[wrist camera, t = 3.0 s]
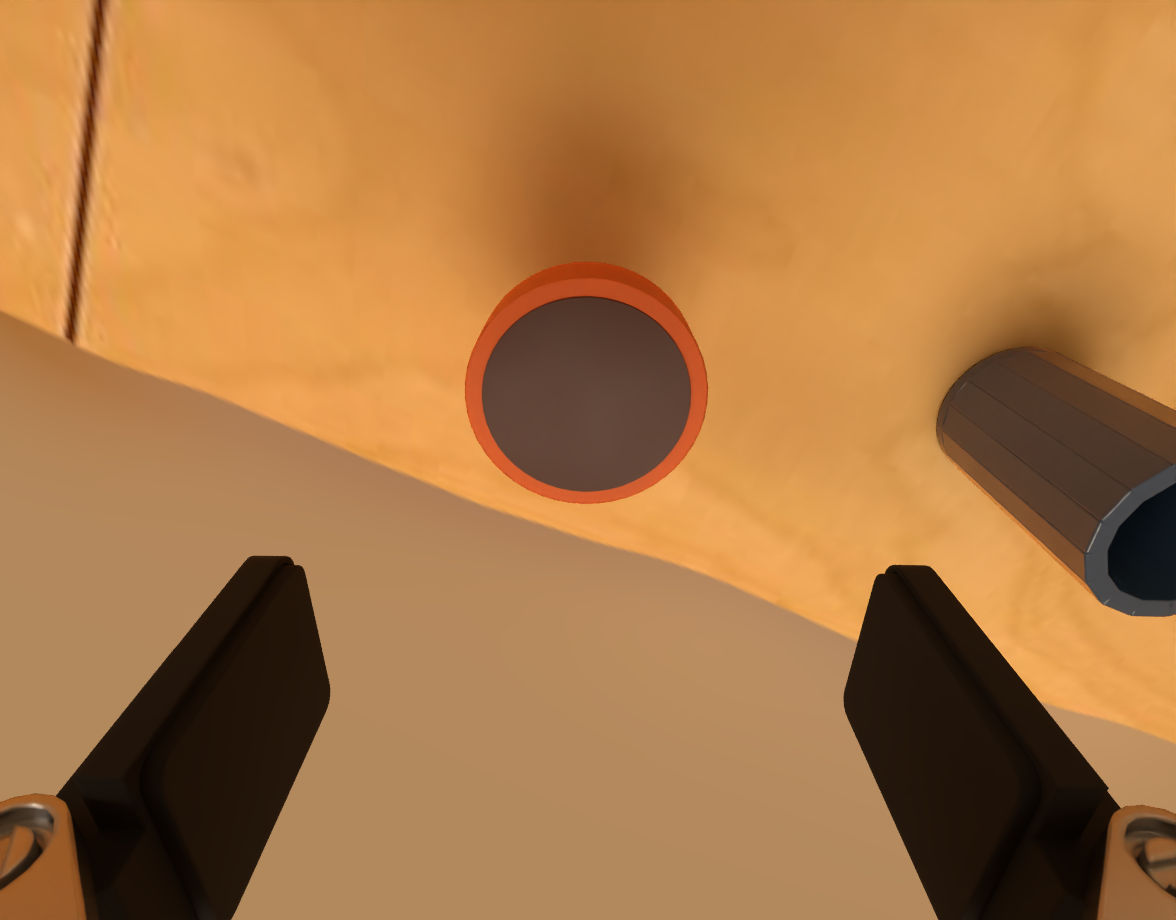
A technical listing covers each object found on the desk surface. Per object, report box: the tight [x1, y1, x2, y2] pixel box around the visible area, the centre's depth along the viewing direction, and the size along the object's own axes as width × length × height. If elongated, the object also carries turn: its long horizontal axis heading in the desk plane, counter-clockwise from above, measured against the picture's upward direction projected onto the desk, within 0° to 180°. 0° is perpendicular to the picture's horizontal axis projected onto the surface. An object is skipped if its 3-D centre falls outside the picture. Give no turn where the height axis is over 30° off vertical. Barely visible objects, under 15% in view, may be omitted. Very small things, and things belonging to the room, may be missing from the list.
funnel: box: [465, 262, 708, 504], centre depth 23 cm, size 7×7×10 cm
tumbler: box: [937, 347, 1176, 617], centre depth 24 cm, size 6×6×10 cm
